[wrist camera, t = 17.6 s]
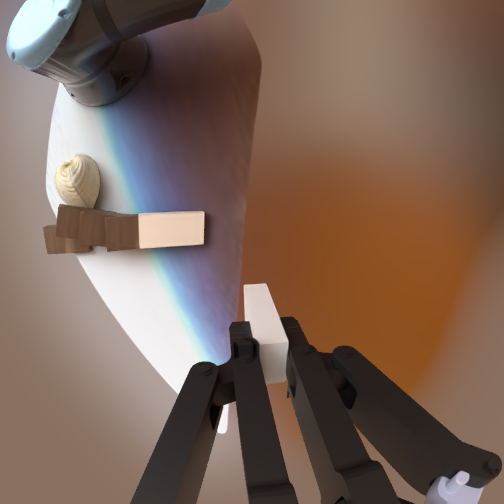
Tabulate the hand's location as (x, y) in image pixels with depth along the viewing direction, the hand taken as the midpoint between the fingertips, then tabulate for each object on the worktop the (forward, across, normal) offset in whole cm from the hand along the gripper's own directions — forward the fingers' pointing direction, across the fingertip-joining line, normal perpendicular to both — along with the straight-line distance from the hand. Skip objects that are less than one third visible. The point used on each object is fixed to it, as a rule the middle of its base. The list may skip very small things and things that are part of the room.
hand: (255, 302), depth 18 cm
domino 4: (+26, -11, 0) cm, 28 cm away
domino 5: (+26, -5, 0) cm, 26 cm away
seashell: (+27, -26, +9) cm, 38 cm away
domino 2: (+26, -20, 0) cm, 32 cm away
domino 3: (+26, -16, 0) cm, 30 cm away
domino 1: (+26, -25, -1) cm, 36 cm away
